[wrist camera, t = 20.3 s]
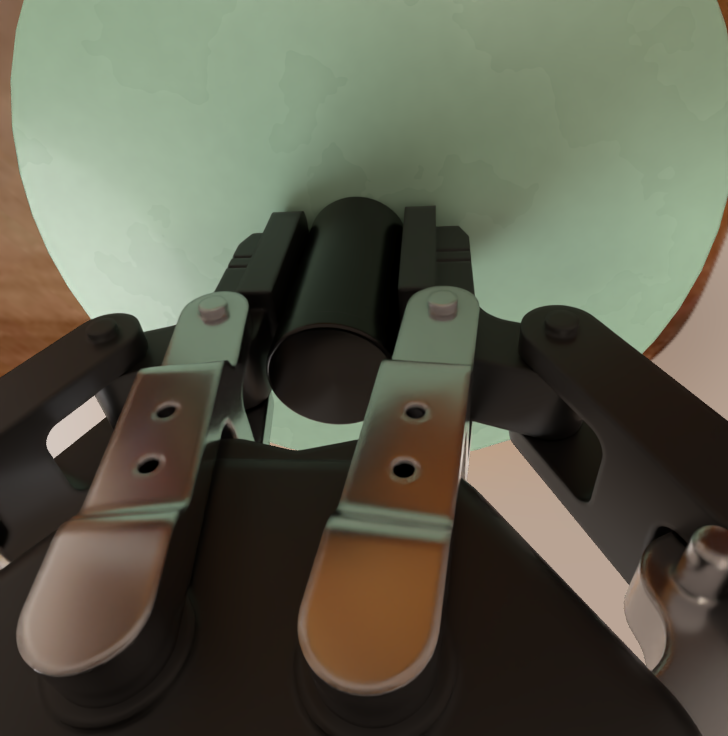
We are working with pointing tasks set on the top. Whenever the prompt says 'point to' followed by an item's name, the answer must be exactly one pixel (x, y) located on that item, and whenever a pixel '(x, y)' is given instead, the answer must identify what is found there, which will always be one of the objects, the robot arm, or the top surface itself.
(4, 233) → the top surface
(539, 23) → the pan lid
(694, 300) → the top surface
